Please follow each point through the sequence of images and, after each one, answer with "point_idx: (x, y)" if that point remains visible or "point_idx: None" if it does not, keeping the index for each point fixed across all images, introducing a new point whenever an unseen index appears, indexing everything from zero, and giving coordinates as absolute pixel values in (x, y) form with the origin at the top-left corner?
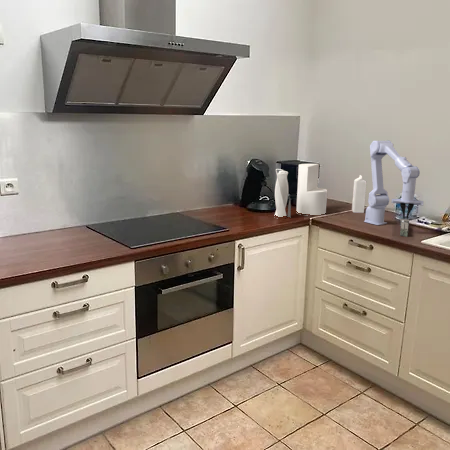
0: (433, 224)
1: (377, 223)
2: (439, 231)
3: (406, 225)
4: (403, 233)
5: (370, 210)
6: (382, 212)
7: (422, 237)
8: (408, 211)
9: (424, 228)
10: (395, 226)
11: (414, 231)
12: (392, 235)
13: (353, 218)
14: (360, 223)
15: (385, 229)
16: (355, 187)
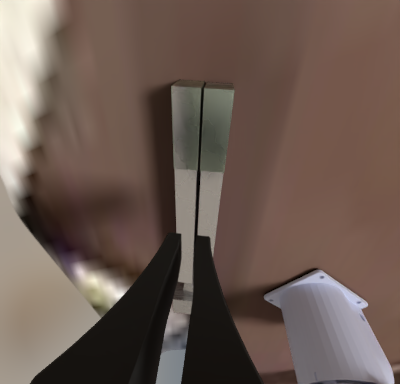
0: (100, 306)
1: (316, 283)
2: (52, 240)
3: (185, 243)
4: (208, 85)
5: (380, 367)
6: (314, 349)
7: (83, 97)
8: (143, 302)
9: (116, 265)
10: (233, 269)
11: (148, 216)
12: (291, 76)
13: (387, 330)
14: (396, 283)
15: (297, 216)
16: None
